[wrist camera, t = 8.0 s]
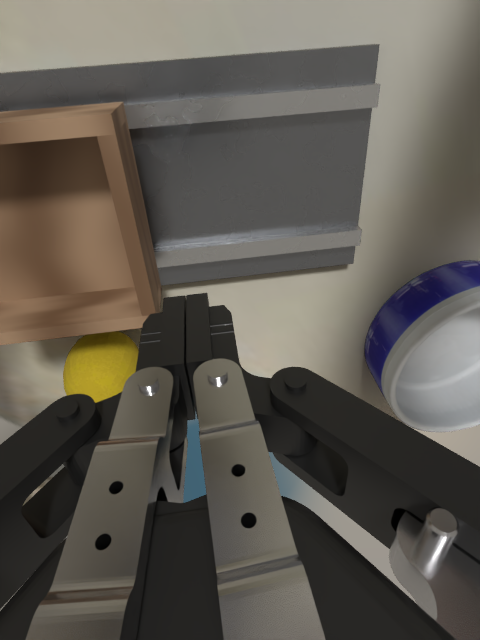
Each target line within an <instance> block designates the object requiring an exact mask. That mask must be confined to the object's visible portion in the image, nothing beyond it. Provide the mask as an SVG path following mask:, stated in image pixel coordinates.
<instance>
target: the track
mask: <svg viewBox="0 0 480 640" xmlns="http://www.w3.org/2000/svg"><path fill="white" fill-rule="evenodd" d="M378 52H379V44H372V45H359V46H346V47H333V48H320V49H307V50H294V51H281V52H268V53H255V54H242V55H229V56H216V57H202V58H189V59H176V60H163V61H150V62H137V63H124V64H111V65H98V66H85V67H72V68H59V69H46V70H33V71H20V72H6V73H0V112H4V111H17V110H29V109H41V108H53V107H65V106H77V105H89V104H101V103H113V102H123V103H124V108H125V113H126V117H127V122H128V127H129V132H130V137H131V142H132V147H133V151H134V156H135V161H136V166H137V171H138V176H139V181H140V186H141V190H142V195H143V200H144V205H145V210H146V215H147V220H148V225H149V229H150V234H151V239H152V244H153V249H154V254H155V259H156V264H157V268H158V273H159V278H160V283H161V285H170V284H179V283H187V282H196V281H205V280H213V279H222V278H231V277H240V276H248V275H257V274H266V273H275V272H283V271H292V270H301V269H309V268H318V267H327V266H336V265H344V264H353V261H354V253H355V246H358V245H360V241H361V233H362V229H361V228H360V227H359V226H358V220H359V211H360V203H361V194H362V186H363V178H364V169H365V161H366V153H367V144H368V136H369V128H370V119H371V111H372V108H374V107H378V99H379V91H380V84H377V83H375V77H376V69H377V61H378Z"/></svg>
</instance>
